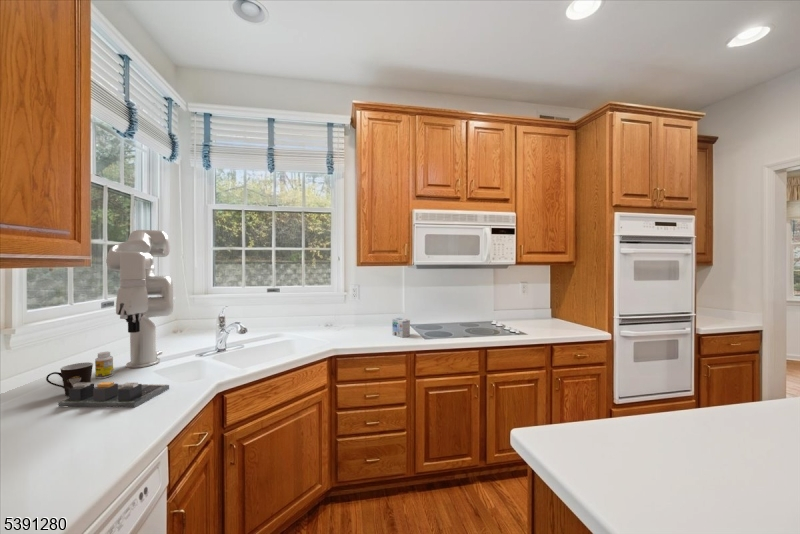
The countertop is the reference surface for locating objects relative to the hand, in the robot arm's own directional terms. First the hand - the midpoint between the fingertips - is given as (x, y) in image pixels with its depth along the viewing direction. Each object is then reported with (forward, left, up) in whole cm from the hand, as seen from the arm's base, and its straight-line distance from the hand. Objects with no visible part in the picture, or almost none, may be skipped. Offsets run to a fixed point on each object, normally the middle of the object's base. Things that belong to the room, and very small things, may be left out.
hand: (133, 332), depth 125 cm
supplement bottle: (-13, -24, -22) cm, 35 cm away
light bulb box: (-92, +101, -22) cm, 138 cm away
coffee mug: (+4, -20, -22) cm, 30 cm away
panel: (+8, 0, -22) cm, 23 cm away
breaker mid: (+12, 0, -20) cm, 23 cm away
